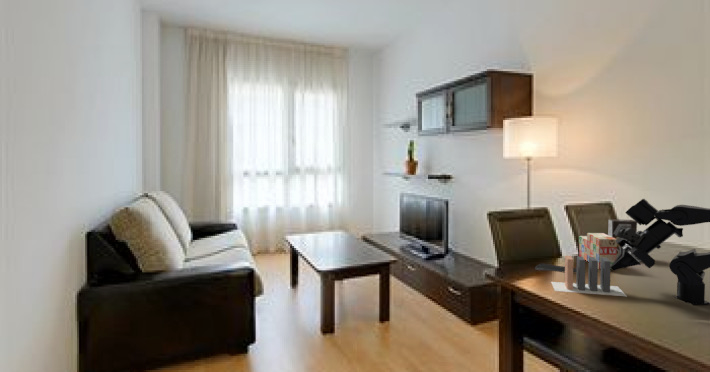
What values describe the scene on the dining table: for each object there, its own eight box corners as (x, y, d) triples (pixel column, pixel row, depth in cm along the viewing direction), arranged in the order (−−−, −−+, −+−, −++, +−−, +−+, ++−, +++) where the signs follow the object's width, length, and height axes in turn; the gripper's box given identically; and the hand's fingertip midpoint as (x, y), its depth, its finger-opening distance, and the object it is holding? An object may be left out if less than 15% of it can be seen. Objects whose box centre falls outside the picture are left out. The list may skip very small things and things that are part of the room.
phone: (577, 274, 146) (534, 267, 156) (576, 277, 146) (534, 270, 156) (582, 269, 152) (540, 263, 162) (582, 272, 152) (540, 265, 162)
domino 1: (581, 286, 133) (582, 256, 132) (585, 290, 128) (585, 260, 128) (576, 285, 134) (576, 256, 133) (579, 290, 129) (579, 259, 128)
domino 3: (605, 287, 131) (606, 257, 130) (610, 292, 126) (610, 261, 125) (600, 287, 131) (600, 257, 131) (604, 292, 127) (604, 261, 126)
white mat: (617, 288, 132) (617, 286, 132) (627, 298, 122) (627, 296, 122) (550, 283, 138) (550, 281, 138) (555, 292, 129) (555, 290, 129)
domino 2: (593, 286, 132) (594, 257, 131) (597, 291, 127) (597, 260, 127) (588, 286, 132) (588, 256, 132) (591, 291, 128) (592, 260, 127)
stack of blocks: (578, 256, 175) (578, 228, 174) (594, 256, 174) (594, 229, 173) (598, 269, 154) (599, 238, 153) (616, 270, 153) (617, 238, 152)
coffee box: (611, 258, 170) (612, 220, 169) (607, 254, 176) (607, 218, 175) (636, 259, 167) (637, 221, 166) (631, 255, 173) (631, 219, 172)
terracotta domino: (570, 285, 134) (570, 256, 134) (572, 289, 130) (573, 259, 129) (564, 284, 135) (565, 255, 134) (567, 289, 130) (567, 259, 129)
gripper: (623, 213, 134) (585, 244, 138) (642, 222, 116) (598, 257, 120) (650, 237, 132) (611, 268, 136) (674, 250, 114) (628, 285, 118)
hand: (611, 269), depth 128 cm, fingers closed
